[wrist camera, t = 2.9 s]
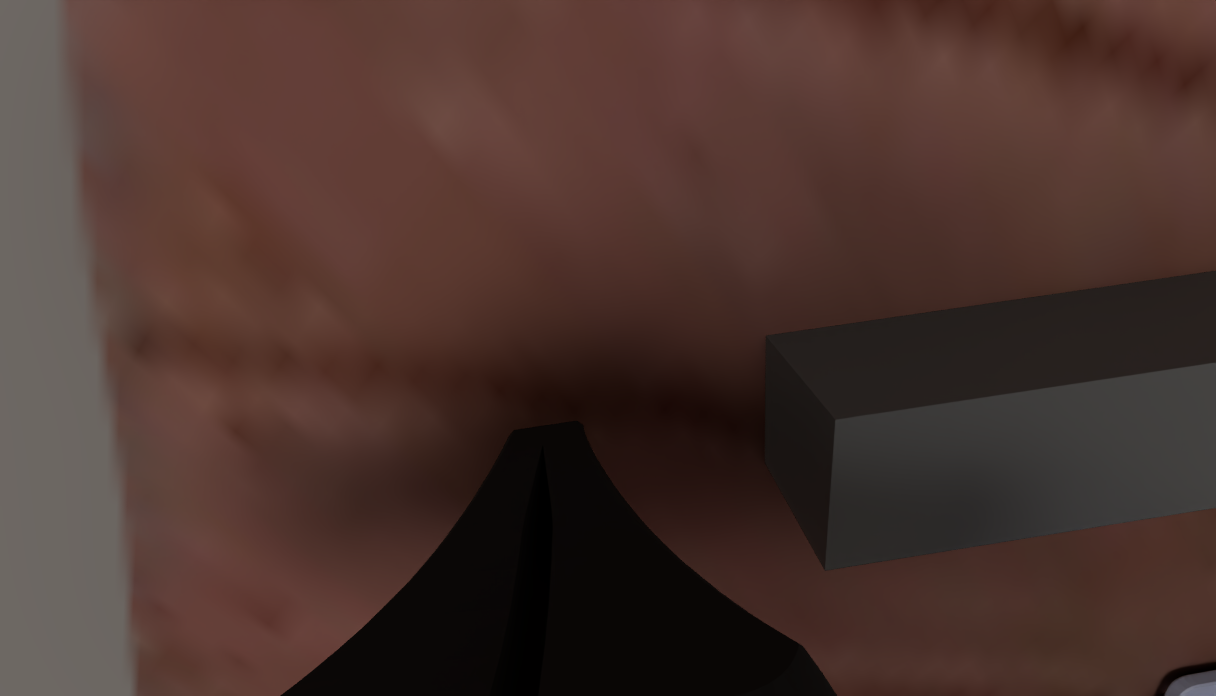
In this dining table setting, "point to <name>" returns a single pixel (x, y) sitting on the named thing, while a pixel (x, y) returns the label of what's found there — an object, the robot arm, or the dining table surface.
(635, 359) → the dining table surface
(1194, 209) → the dining table surface
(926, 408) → the plug
